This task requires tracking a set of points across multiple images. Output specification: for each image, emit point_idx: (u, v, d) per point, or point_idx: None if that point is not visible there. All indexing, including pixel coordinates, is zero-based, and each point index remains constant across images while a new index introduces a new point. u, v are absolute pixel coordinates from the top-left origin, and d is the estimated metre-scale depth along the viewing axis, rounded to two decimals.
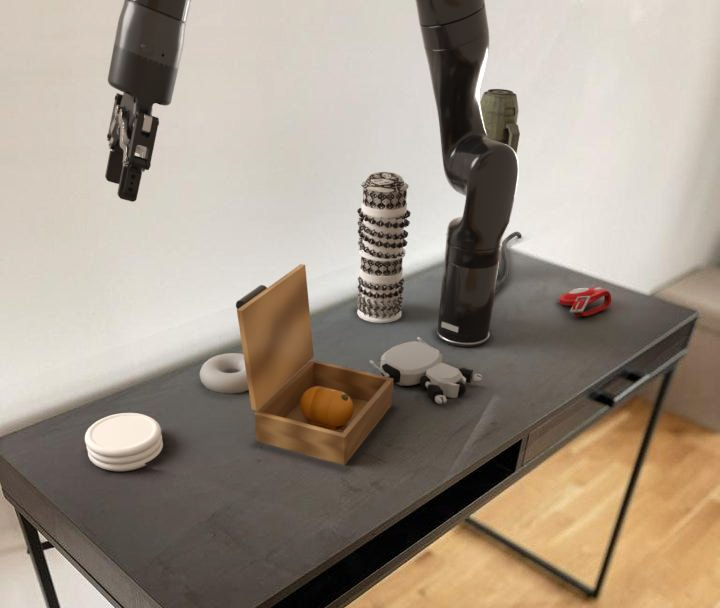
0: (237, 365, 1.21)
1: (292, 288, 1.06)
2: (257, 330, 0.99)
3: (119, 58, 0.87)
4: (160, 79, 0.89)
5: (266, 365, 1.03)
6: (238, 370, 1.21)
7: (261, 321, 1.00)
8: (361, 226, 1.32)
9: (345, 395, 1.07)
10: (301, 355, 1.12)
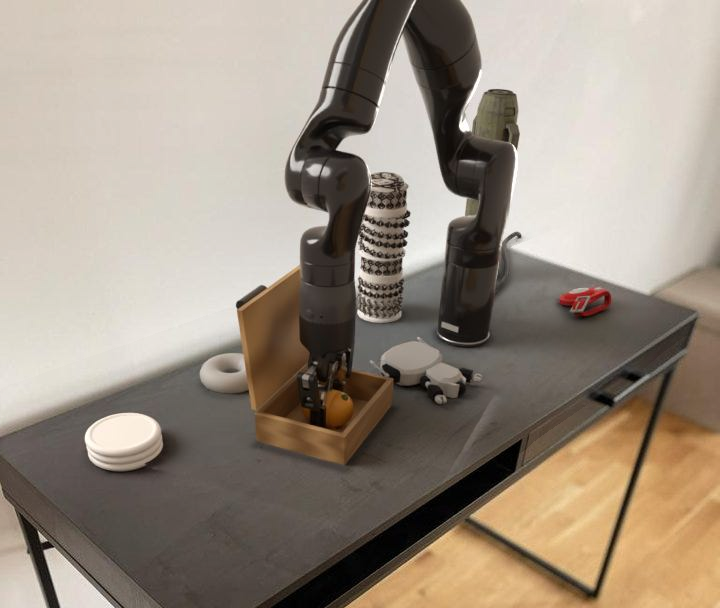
0: (237, 365, 1.21)
1: (292, 288, 1.06)
2: (257, 330, 0.99)
3: (299, 319, 1.01)
4: (324, 335, 0.98)
5: (266, 365, 1.03)
6: (238, 370, 1.21)
7: (261, 321, 1.00)
8: (361, 226, 1.32)
9: (345, 395, 1.07)
10: (301, 355, 1.12)
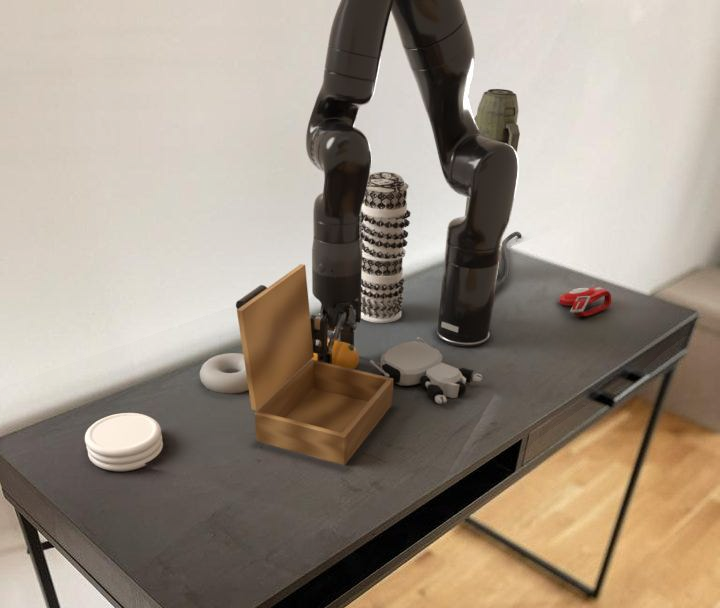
0: (237, 365, 1.21)
1: (292, 288, 1.06)
2: (257, 330, 0.99)
3: (312, 274, 1.15)
4: (334, 287, 1.12)
5: (266, 365, 1.03)
6: (238, 370, 1.21)
7: (261, 321, 1.00)
8: (361, 226, 1.32)
9: (351, 345, 1.21)
10: (301, 355, 1.12)
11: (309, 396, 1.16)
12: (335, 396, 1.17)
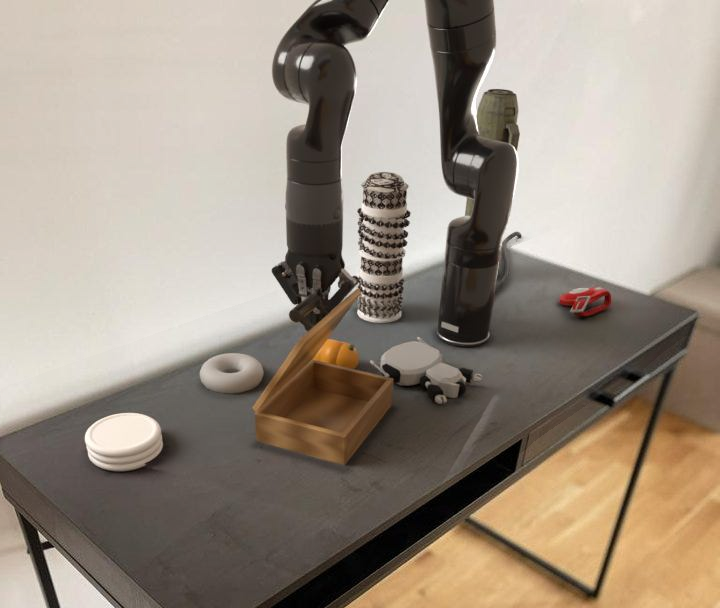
0: (237, 365, 1.21)
1: (342, 313, 1.05)
2: (301, 353, 0.99)
3: (315, 233, 0.97)
4: (342, 229, 1.01)
5: (286, 376, 1.03)
6: (238, 370, 1.21)
7: (308, 345, 0.99)
8: (361, 226, 1.32)
9: (351, 345, 1.21)
10: (308, 360, 1.12)
11: (309, 396, 1.16)
12: (335, 396, 1.17)
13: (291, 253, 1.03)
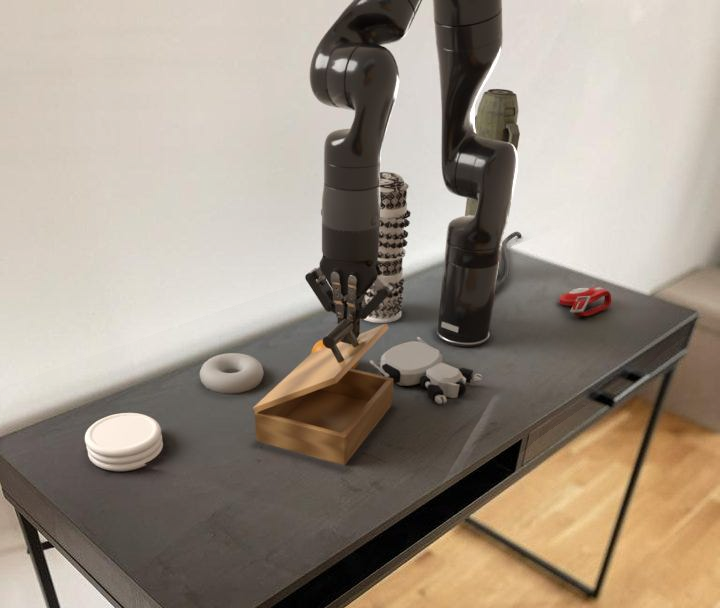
0: (237, 365, 1.21)
1: None
2: None
3: (352, 240, 0.96)
4: None
5: None
6: (238, 370, 1.21)
7: None
8: None
9: None
10: None
11: (309, 396, 1.16)
12: (335, 396, 1.17)
13: (326, 260, 1.01)
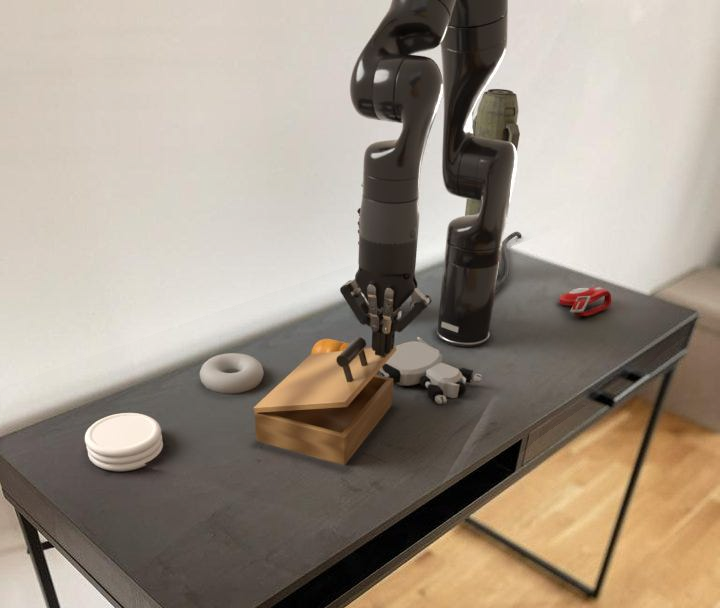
0: (237, 365, 1.21)
1: None
2: None
3: (391, 253, 0.95)
4: (416, 248, 0.98)
5: None
6: (238, 370, 1.21)
7: None
8: None
9: None
10: None
11: None
12: None
13: (362, 272, 1.00)
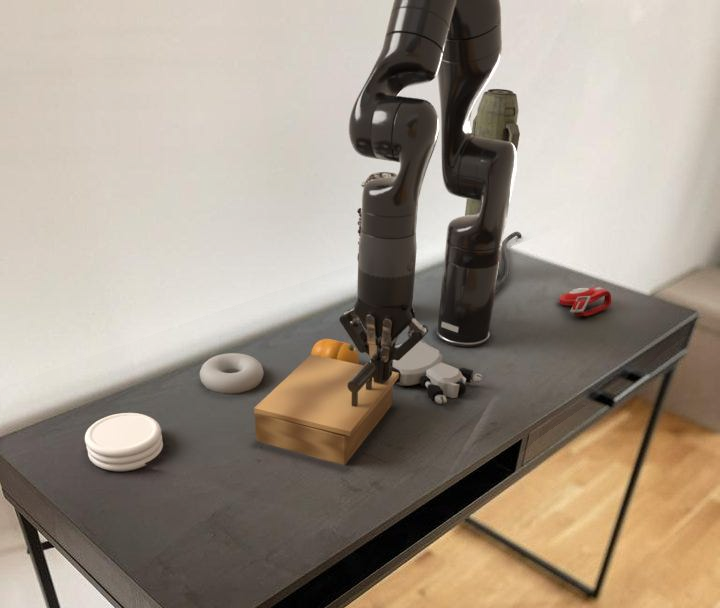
0: (237, 365, 1.21)
1: None
2: None
3: (389, 286, 0.97)
4: None
5: None
6: (238, 370, 1.21)
7: None
8: None
9: (351, 345, 1.21)
10: None
11: None
12: None
13: (361, 303, 1.03)
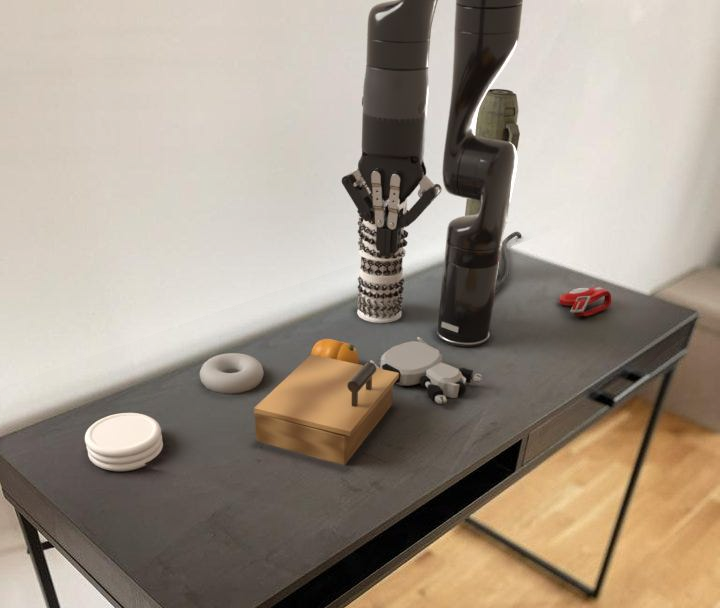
0: (237, 365, 1.21)
1: None
2: None
3: (398, 130, 0.86)
4: (425, 129, 0.89)
5: None
6: (238, 370, 1.21)
7: None
8: (361, 226, 1.32)
9: (351, 345, 1.21)
10: None
11: None
12: None
13: (366, 158, 0.92)
